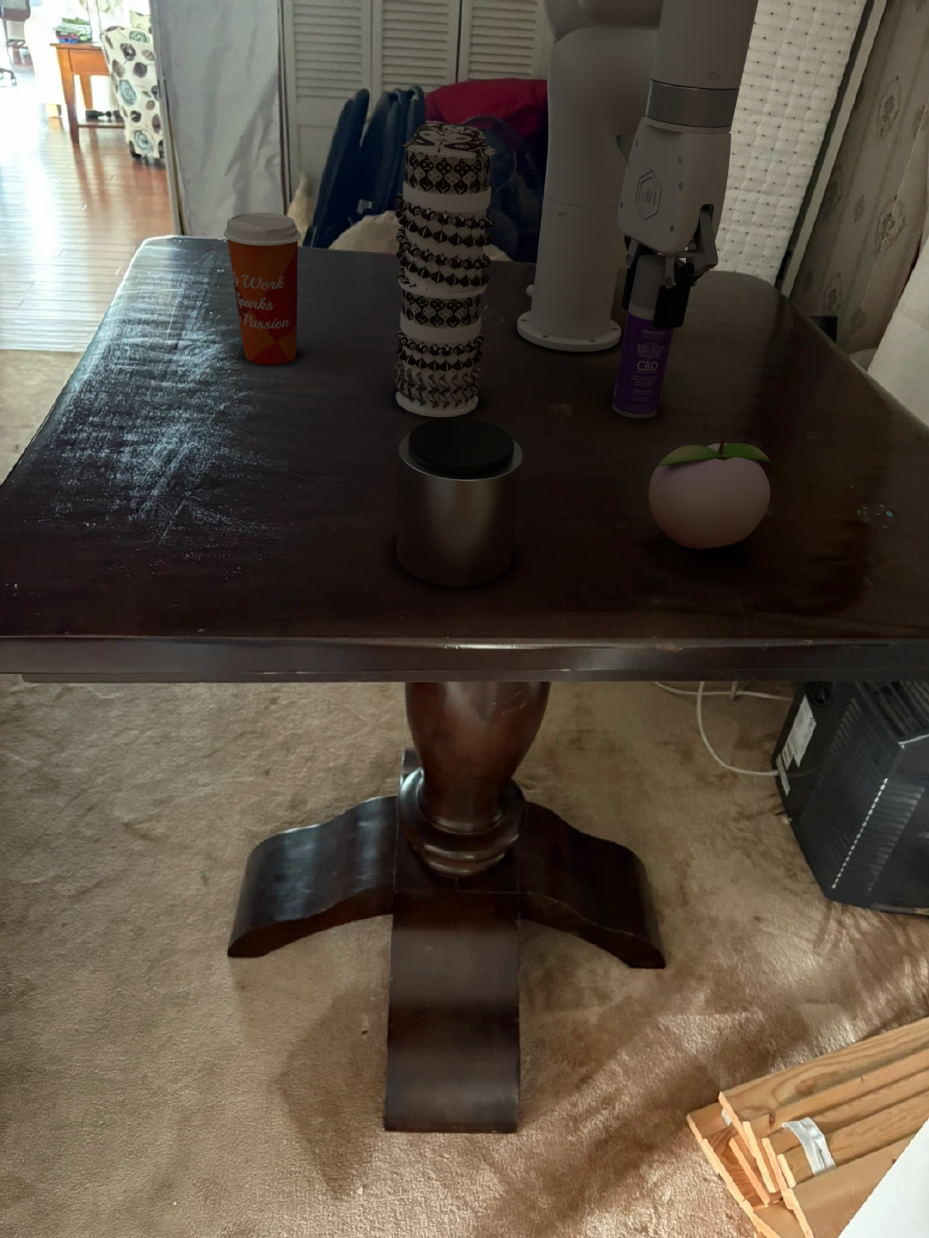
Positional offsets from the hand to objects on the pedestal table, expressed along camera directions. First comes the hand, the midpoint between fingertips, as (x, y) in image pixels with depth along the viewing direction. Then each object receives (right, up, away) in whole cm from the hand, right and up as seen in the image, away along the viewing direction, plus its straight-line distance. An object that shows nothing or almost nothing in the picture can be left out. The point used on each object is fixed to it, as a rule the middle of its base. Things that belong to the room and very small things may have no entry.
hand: (651, 315), depth 90 cm
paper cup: (-40, -1, +11) cm, 41 cm away
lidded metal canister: (-19, -25, -18) cm, 36 cm away
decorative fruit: (+1, -24, -15) cm, 29 cm away
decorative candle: (-21, -7, +5) cm, 23 cm away
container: (-1, -8, +6) cm, 10 cm away
